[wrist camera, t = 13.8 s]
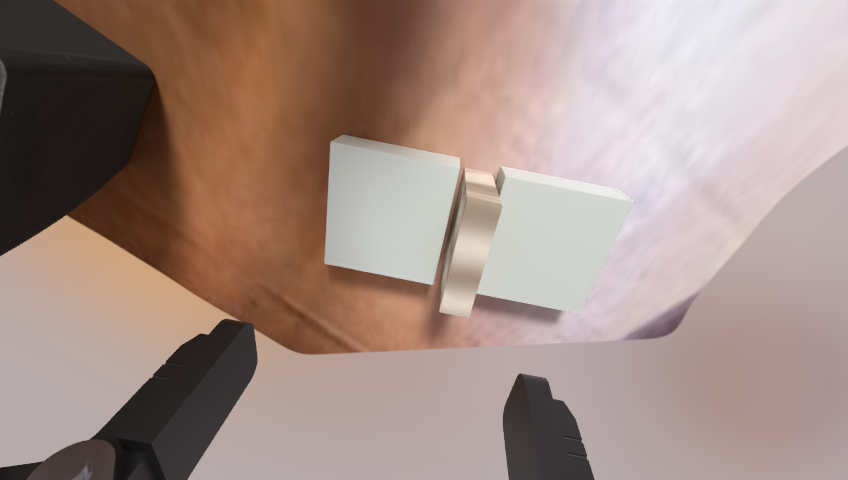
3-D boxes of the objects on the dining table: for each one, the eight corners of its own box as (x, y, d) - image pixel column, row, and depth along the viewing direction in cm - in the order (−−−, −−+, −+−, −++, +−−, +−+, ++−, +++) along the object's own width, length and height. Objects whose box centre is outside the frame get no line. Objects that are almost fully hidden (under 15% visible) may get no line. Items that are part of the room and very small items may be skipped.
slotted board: (342, 134, 37) (330, 141, 33) (617, 189, 37) (634, 202, 33) (335, 247, 43) (324, 263, 40) (569, 293, 43) (579, 313, 40)
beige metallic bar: (464, 167, 37) (467, 199, 28) (491, 173, 37) (502, 206, 29) (442, 261, 43) (439, 312, 34) (466, 265, 43) (468, 317, 34)
